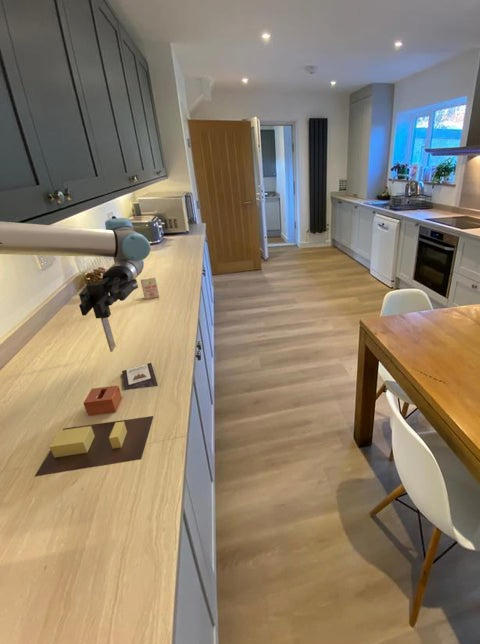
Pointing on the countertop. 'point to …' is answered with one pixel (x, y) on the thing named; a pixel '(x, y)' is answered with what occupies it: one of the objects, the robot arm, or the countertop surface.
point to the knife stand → (103, 400)
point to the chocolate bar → (139, 377)
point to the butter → (72, 441)
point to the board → (103, 448)
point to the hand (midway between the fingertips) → (91, 309)
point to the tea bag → (150, 288)
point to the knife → (95, 295)
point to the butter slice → (118, 435)
